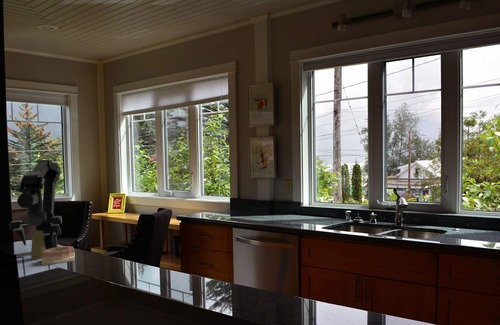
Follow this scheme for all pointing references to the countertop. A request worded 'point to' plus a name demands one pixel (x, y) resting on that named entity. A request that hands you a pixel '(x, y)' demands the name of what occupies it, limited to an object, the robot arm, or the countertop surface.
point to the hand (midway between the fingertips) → (38, 244)
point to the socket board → (58, 255)
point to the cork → (37, 244)
